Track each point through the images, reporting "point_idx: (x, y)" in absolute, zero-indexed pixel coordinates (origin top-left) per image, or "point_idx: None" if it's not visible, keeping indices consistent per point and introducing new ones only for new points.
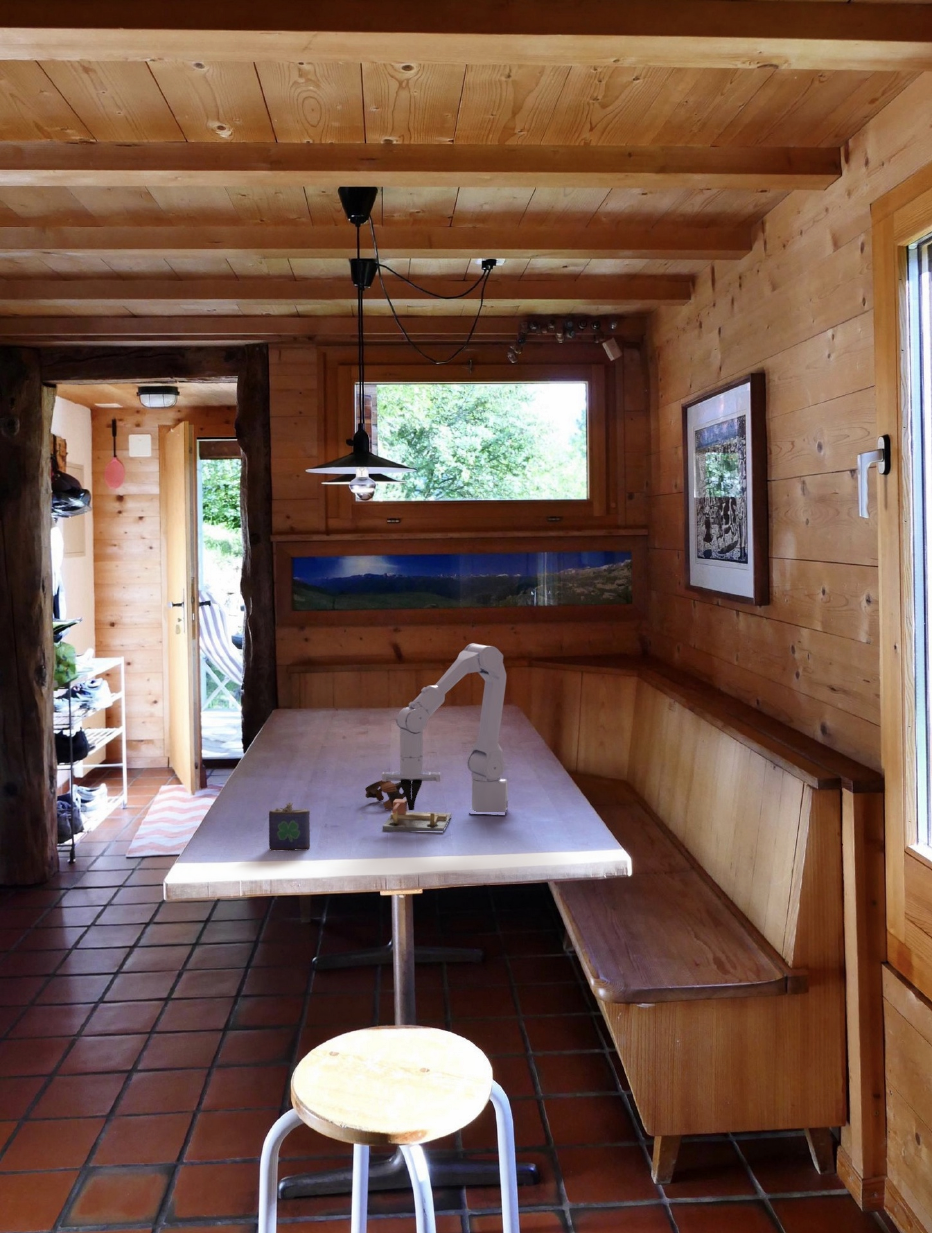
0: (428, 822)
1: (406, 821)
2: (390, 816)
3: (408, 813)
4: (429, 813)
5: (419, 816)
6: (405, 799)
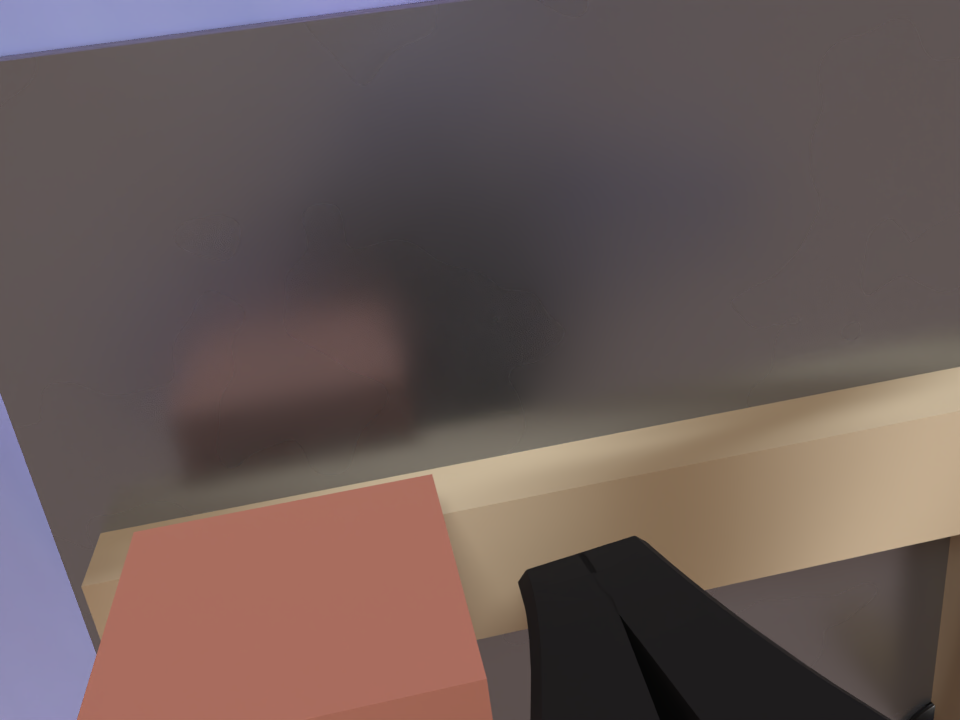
0: (888, 641)
1: (519, 715)
2: (74, 554)
3: (488, 533)
4: (844, 62)
5: (737, 568)
6: (436, 710)
